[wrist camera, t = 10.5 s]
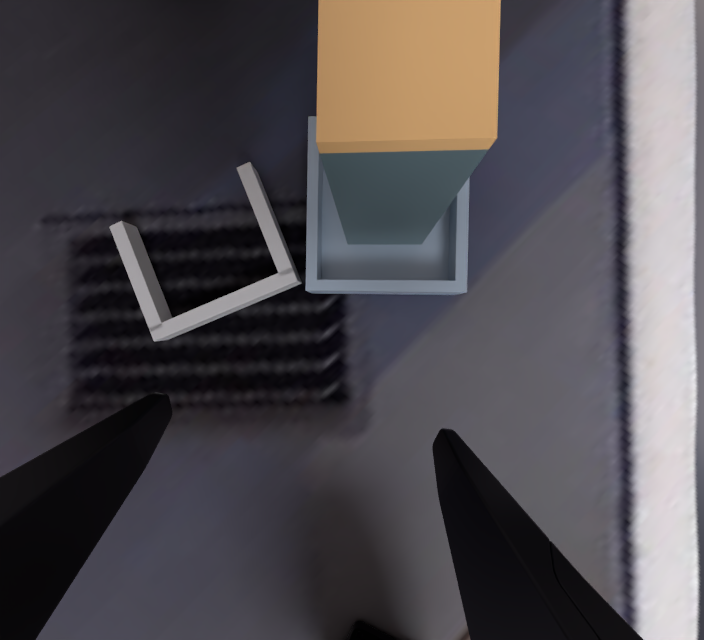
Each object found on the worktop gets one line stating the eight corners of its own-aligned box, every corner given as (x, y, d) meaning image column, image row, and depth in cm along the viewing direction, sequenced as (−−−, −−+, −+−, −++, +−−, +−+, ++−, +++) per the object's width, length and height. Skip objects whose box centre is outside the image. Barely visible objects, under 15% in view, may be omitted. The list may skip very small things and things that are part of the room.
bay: (302, 283, 19) (297, 281, 18) (167, 340, 19) (153, 341, 18) (257, 171, 19) (249, 161, 18) (125, 232, 20) (109, 226, 18)
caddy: (421, 244, 18) (496, 137, 7) (347, 244, 18) (315, 142, 7) (423, 178, 18) (501, -27, 7) (348, 180, 18) (318, -14, 7)
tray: (456, 294, 18) (466, 292, 16) (312, 293, 19) (305, 290, 17) (459, 133, 18) (470, 110, 16) (314, 138, 19) (308, 116, 17)
